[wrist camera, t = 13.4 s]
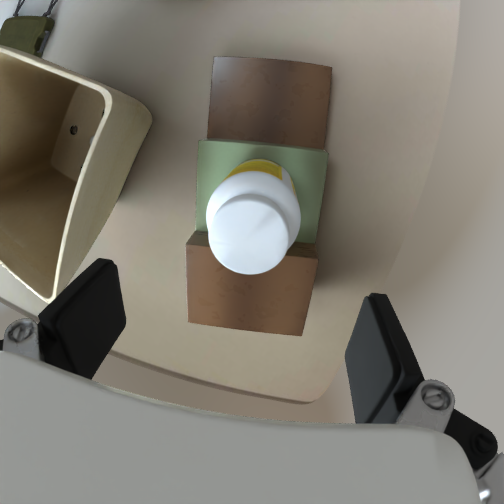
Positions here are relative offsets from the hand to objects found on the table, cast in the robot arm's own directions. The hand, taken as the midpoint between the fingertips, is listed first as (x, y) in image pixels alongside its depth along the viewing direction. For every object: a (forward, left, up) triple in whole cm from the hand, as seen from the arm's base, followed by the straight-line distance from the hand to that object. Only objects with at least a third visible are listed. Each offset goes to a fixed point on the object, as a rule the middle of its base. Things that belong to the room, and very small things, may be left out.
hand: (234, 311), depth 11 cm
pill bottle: (0, 0, -19) cm, 19 cm away
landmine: (+37, -25, -24) cm, 51 cm away
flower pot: (+21, -4, -24) cm, 32 cm away
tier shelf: (0, 0, -24) cm, 24 cm away
